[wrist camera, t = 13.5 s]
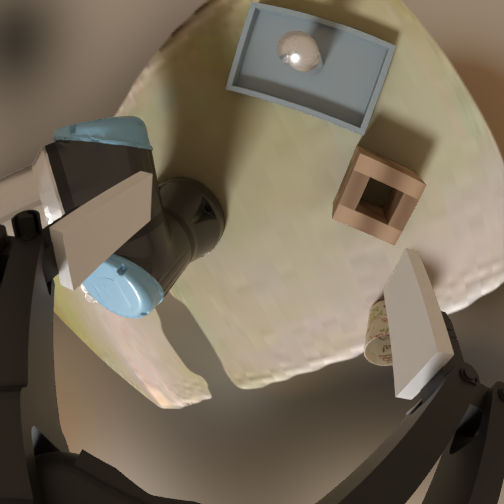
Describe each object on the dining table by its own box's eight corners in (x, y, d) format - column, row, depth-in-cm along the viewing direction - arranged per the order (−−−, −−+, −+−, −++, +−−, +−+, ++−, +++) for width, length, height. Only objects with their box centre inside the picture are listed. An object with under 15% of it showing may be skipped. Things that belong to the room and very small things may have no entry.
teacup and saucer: (82, 285, 75) (74, 293, 72) (88, 270, 71) (79, 279, 67) (104, 306, 77) (96, 315, 73) (112, 292, 72) (104, 302, 69)
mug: (363, 328, 57) (363, 367, 48) (362, 277, 51) (364, 315, 43) (403, 325, 54) (408, 364, 45) (407, 274, 48) (417, 311, 40)
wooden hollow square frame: (333, 203, 46) (332, 218, 41) (356, 145, 40) (360, 153, 35) (388, 227, 45) (394, 245, 40) (416, 172, 39) (426, 184, 34)
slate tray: (232, 89, 40) (225, 89, 38) (256, 6, 33) (251, 1, 30) (361, 132, 39) (363, 135, 36) (392, 48, 31) (396, 46, 29)
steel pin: (293, 71, 36) (272, 61, 23) (301, 48, 34) (282, 26, 21) (318, 79, 36) (311, 72, 23) (326, 56, 34) (322, 37, 21)
